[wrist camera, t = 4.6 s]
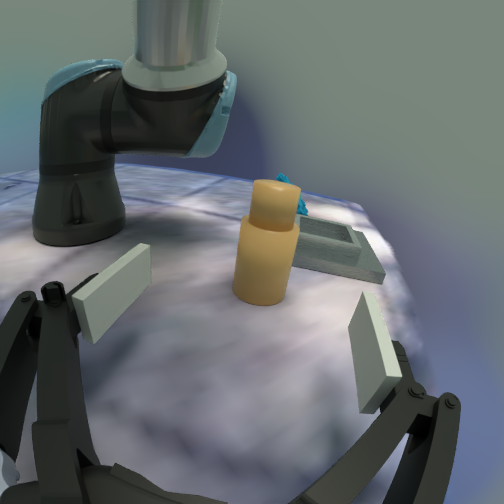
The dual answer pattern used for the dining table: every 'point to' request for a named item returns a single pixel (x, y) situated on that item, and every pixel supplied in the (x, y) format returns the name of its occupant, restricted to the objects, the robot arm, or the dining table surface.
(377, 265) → the junction box
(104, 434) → the dining table surface
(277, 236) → the stacked tan cylinders
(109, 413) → the dining table surface
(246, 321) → the dining table surface
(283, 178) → the gear
